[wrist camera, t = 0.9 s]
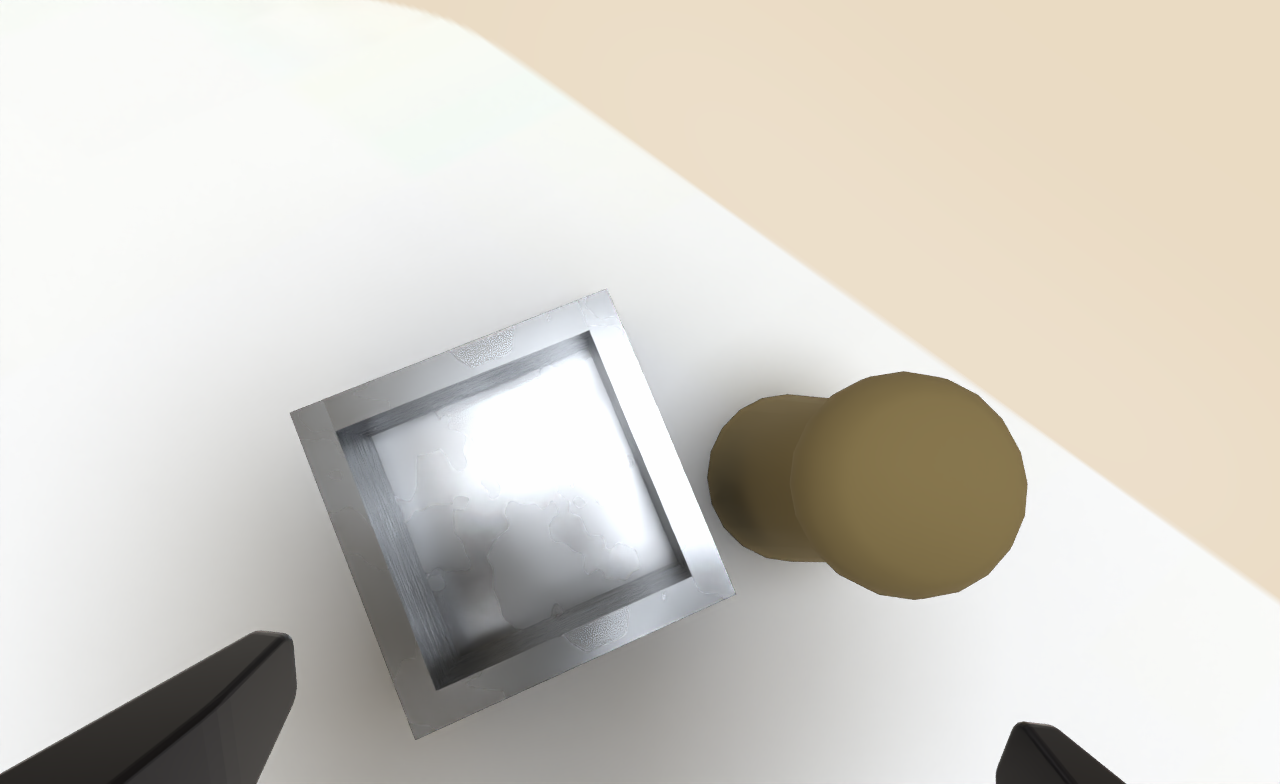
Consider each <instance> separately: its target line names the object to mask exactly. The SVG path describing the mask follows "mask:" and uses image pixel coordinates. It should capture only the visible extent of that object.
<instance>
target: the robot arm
mask: <svg viewBox="0 0 1280 784" xmlns="http://www.w3.org/2000/svg"><path fill="white" fill-rule="evenodd" d="M296 689H297V681H296V669H295V658H294V646H293V641H292V639H291V637H290V636H289V635H287V634H285V633H278V632H269V631H255V632H252V633H250V634H248V635H246V636H245V637H243V638H241V639H239V640H238V641H236V642H234V643H232V644H230V645H229V646H227V647H225V648H223V649H221V650H220V651H218V652H216V653H214V654H213V655H211V656H209V657H207V658H205V659H204V660H202V661H200V662H198V663H197V664H195V665H193V666H191V667H189V668H188V669H186V670H184V671H182V672H181V673H179V674H177V675H175V676H173V677H172V678H170V679H168V680H166V681H165V682H163V683H161V684H159V685H157V686H156V687H154V688H152V689H150V690H149V691H147V692H145V693H143V694H141V695H140V696H138V697H136V698H134V699H132V700H131V701H129V702H127V703H125V704H124V705H122V706H120V707H118V708H116V709H115V710H113V711H111V712H109V713H108V714H106V715H104V716H102V717H100V718H99V719H97V720H95V721H93V722H92V723H90V724H88V725H86V726H84V727H83V728H81V729H79V730H77V731H76V732H74V733H72V734H70V735H68V736H67V737H65V738H63V739H61V740H60V741H58V742H56V743H54V744H52V745H51V746H49V747H47V748H45V749H43V750H42V751H40V752H38V753H36V754H35V755H33V756H31V757H29V758H27V759H26V760H24V761H22V762H20V763H19V764H17V765H15V766H13V767H11V768H10V769H8V770H6V771H4V772H3V773H1V774H0V784H257V781H258V779H259V777H260V775H261V773H262V771H263V768H264V766H265V764H266V762H267V760H268V757H269V755H270V753H271V751H272V749H273V747H274V744H275V742H276V740H277V738H278V736H279V734H280V731H281V729H282V727H283V725H284V723H285V721H286V718H287V716H288V714H289V712H290V710H291V707H292V705H293V702H294V699H295V695H296ZM996 784H1126V783H1124V782H1123V781H1122V780H1121V779H1120V778H1118V777H1117V776H1116V775H1115V774H1113V773H1112V772H1111V771H1110V770H1108V769H1107V768H1106V767H1105V766H1103V765H1102V764H1101V763H1100V762H1098V761H1097V760H1096V759H1095V758H1094V757H1092V756H1091V755H1090V754H1089V753H1087V752H1086V751H1085V750H1084V749H1082V748H1081V747H1080V746H1079V745H1077V744H1076V743H1075V742H1074V741H1072V740H1071V739H1070V738H1069V737H1067V736H1066V735H1065V734H1064V733H1063V732H1061V731H1060V730H1059V729H1057V728H1056V727H1054V726H1051V725H1048V724H1040V723H1032V722H1019V723H1017V724H1016V725H1015V726H1014V727H1013V729H1012V731H1011V734H1010V736H1009V739H1008V741H1007V744H1006V746H1005V749H1004V751H1003V754H1002V756H1001V759H1000V762H999V764H998V767H997V771H996Z"/></svg>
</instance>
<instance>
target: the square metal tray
mask: <svg viewBox="0 0 1280 784" xmlns="http://www.w3.org/2000/svg"><path fill="white" fill-rule="evenodd" d="M290 415H291V418H292V420H293V423H294V425H295V428H296V431H297V433H298V436H299V438H300V441H301V444H302V446H303V449H304V451H305V454H306V457H307V459H308V462H309V464H310V467H311V470H312V472H313V475H314V477H315V480H316V483H317V485H318V488H319V490H320V493H321V496H322V498H323V501H324V503H325V506H326V509H327V511H328V514H329V517H330V519H331V522H332V524H333V527H334V530H335V532H336V535H337V537H338V540H339V543H340V545H341V548H342V550H343V553H344V556H345V558H346V561H347V563H348V566H349V569H350V571H351V574H352V576H353V579H354V582H355V584H356V587H357V589H358V592H359V595H360V597H361V600H362V602H363V605H364V608H365V610H366V613H367V615H368V618H369V621H370V623H371V626H372V628H373V631H374V634H375V636H376V639H377V641H378V644H379V647H380V649H381V652H382V654H383V657H384V660H385V662H386V665H387V668H388V670H389V673H390V675H391V678H392V681H393V683H394V686H395V688H396V691H397V694H398V696H399V699H400V701H401V704H402V707H403V709H404V712H405V714H406V717H407V720H408V722H409V725H410V727H411V730H412V733H413V735H414V738H415V740H417V739H419V738H421V737H423V736H425V735H428V734H430V733H432V732H434V731H436V730H439V729H441V728H443V727H445V726H447V725H450V724H452V723H454V722H456V721H458V720H461V719H463V718H465V717H467V716H469V715H472V714H474V713H476V712H478V711H480V710H483V709H485V708H487V707H489V706H491V705H494V704H496V703H498V702H500V701H502V700H505V699H507V698H509V697H511V696H513V695H516V694H518V693H520V692H522V691H524V690H527V689H529V688H531V687H533V686H535V685H537V684H540V683H542V682H544V681H546V680H548V679H551V678H553V677H555V676H557V675H559V674H562V673H564V672H566V671H568V670H570V669H573V668H575V667H577V666H579V665H581V664H584V663H586V662H588V661H590V660H592V659H595V658H597V657H599V656H601V655H603V654H606V653H608V652H610V651H612V650H614V649H617V648H619V647H621V646H623V645H625V644H628V643H630V642H632V641H634V640H636V639H639V638H641V637H643V636H645V635H647V634H650V633H652V632H654V631H656V630H658V629H661V628H663V627H665V626H667V625H669V624H672V623H674V622H676V621H678V620H680V619H683V618H685V617H687V616H689V615H691V614H694V613H696V612H698V611H700V610H702V609H705V608H707V607H709V606H711V605H713V604H716V603H718V602H720V601H722V600H724V599H727V598H729V597H731V596H733V595H735V594H736V593H735V590H734V588H733V586H732V583H731V581H730V578H729V576H728V574H727V571H726V569H725V567H724V564H723V562H722V560H721V557H720V555H719V552H718V550H717V548H716V545H715V543H714V541H713V538H712V536H711V533H710V531H709V529H708V526H707V524H706V522H705V519H704V517H703V514H702V512H701V510H700V507H699V505H698V503H697V500H696V498H695V496H694V493H693V491H692V488H691V486H690V484H689V481H688V479H687V477H686V474H685V472H684V469H683V467H682V465H681V462H680V460H679V458H678V455H677V453H676V451H675V448H674V446H673V443H672V441H671V439H670V436H669V434H668V432H667V429H666V427H665V424H664V422H663V420H662V417H661V415H660V413H659V410H658V408H657V405H656V403H655V401H654V398H653V396H652V394H651V391H650V389H649V387H648V384H647V382H646V379H645V377H644V375H643V372H642V370H641V368H640V365H639V363H638V360H637V358H636V356H635V353H634V351H633V349H632V346H631V344H630V341H629V339H628V337H627V334H626V332H625V330H624V327H623V325H622V323H621V320H620V318H619V315H618V313H617V311H616V308H615V306H614V304H613V301H612V299H611V296H610V294H609V292H608V289H604V290H602V291H599V292H597V293H594V294H592V295H589V296H586V297H584V298H581V299H579V300H576V301H574V302H571V303H569V304H566V305H564V306H561V307H558V308H556V309H553V310H551V311H548V312H546V313H543V314H541V315H538V316H535V317H533V318H530V319H528V320H525V321H523V322H520V323H518V324H515V325H512V326H510V327H507V328H505V329H502V330H500V331H497V332H495V333H492V334H490V335H487V336H484V337H482V338H479V339H477V340H474V341H472V342H469V343H467V344H464V345H461V346H459V347H456V348H454V349H451V350H449V351H446V352H444V353H441V354H438V355H436V356H433V357H431V358H428V359H426V360H423V361H421V362H418V363H416V364H413V365H410V366H408V367H405V368H403V369H400V370H398V371H395V372H393V373H390V374H387V375H385V376H382V377H380V378H377V379H375V380H372V381H370V382H367V383H364V384H362V385H359V386H357V387H354V388H352V389H349V390H347V391H344V392H342V393H339V394H336V395H334V396H331V397H329V398H326V399H324V400H321V401H319V402H316V403H313V404H311V405H308V406H306V407H303V408H301V409H298V410H296V411H293V412H290Z"/></svg>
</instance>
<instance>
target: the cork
mask: <svg viewBox="0 0 1280 784" xmlns="http://www.w3.org/2000/svg"><path fill="white" fill-rule="evenodd" d="M707 479H708V485H709V490H710V496H711V502H712V505H713V507H714V509H715V511H716V513H717V515H718V517H719V519H720V521H721V522H722V524H723V526H724V528H725V529H726V530H727V531H728V532H729V533H730V534H731V535H732V536H733V537H734V538H735V539H736V540H737V541H738V542H739V543H740V544H741V545H742V546H744V547H746V548H748V549H750V550H752V551H754V552H756V553H758V554H760V555H762V556H764V557H766V558H771V559H778V560H785V561H791V562H826V563H827V564H828V565H829V566H830V567H831V568H832V569H833V570H834V571H835V572H836V573H838V574H839V575H841V576H843V577H845V578H847V579H849V580H851V581H853V582H855V583H857V584H859V585H861V586H863V587H864V588H866V589H868V590H871V591H873V592H875V593H877V594H879V595H884V596H891V597H898V598H905V599H912V600H917V599H925V598H930V597H935V596H941V595H946V594H951V593H956V592H960V591H961V590H963V589H965V588H967V587H968V586H970V585H972V584H973V583H975V582H977V581H979V580H980V579H982V578H984V577H985V576H987V575H988V574H989V573H990V572H991V571H992V570H993V569H994V568H995V566H996V565H997V564H998V563H999V562H1000V561H1001V559H1002V558H1003V557H1004V556H1005V555H1006V554H1007V552H1008V551H1009V550H1010V549H1011V547H1012V545H1013V543H1014V540H1015V538H1016V535H1017V533H1018V531H1019V528H1020V526H1021V523H1022V521H1023V519H1024V516H1025V507H1026V495H1027V479H1026V475H1025V470H1024V465H1023V461H1022V456H1021V452H1020V450H1019V448H1018V447H1017V445H1016V443H1015V441H1014V439H1013V437H1012V436H1011V434H1010V432H1009V430H1008V428H1007V427H1006V425H1005V423H1004V421H1003V419H1002V418H1001V417H1000V416H999V415H998V414H997V413H996V412H995V411H994V410H993V409H992V408H991V407H990V406H989V405H988V404H987V403H986V402H985V401H984V400H983V399H982V398H980V397H979V396H978V395H977V394H975V393H973V392H971V391H969V390H967V389H965V388H964V387H962V386H960V385H958V384H956V383H954V382H952V381H950V380H948V379H944V378H940V377H935V376H929V375H923V374H917V373H910V372H904V371H903V372H897V373H890V374H884V375H878V376H872V377H868V378H865V379H862V380H860V381H858V382H856V383H854V384H852V385H851V386H849V387H847V388H845V389H843V390H841V391H839V392H837V393H835V394H833V395H832V396H831V397H830V398H820V397H809V396H799V395H789V394H786V395H780V396H774V397H767V398H762V399H760V400H758V401H756V402H754V403H752V404H750V405H748V406H747V407H745V408H743V409H741V410H739V411H738V412H737V413H736V415H735V416H734V417H733V418H732V419H731V420H730V421H729V422H728V423H727V424H726V425H725V426H724V427H723V428H722V430H721V432H720V434H719V436H718V438H717V440H716V442H715V444H714V446H713V448H712V450H711V454H710V462H709V469H708V476H707Z"/></svg>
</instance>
